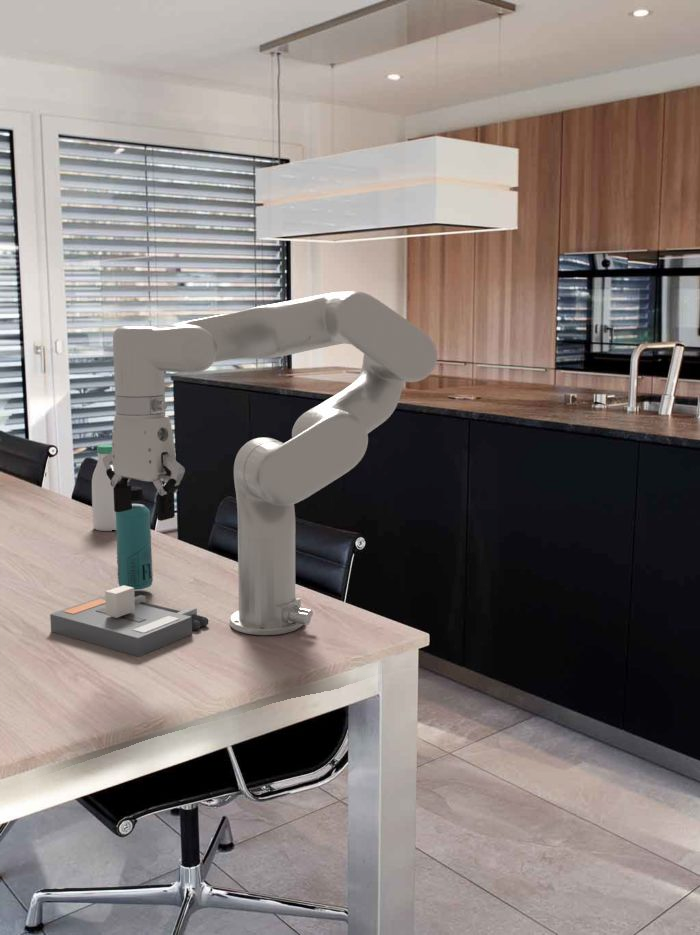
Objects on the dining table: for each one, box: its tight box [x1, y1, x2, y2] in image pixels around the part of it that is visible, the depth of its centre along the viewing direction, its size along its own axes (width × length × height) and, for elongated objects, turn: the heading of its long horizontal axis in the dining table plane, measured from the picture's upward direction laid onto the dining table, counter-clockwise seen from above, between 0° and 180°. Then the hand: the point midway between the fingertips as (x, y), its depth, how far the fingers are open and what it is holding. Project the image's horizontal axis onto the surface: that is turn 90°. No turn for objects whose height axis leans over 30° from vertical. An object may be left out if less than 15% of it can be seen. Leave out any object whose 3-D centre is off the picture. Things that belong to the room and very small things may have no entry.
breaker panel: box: [49, 595, 193, 658], centre depth 155 cm, size 20×12×3 cm, turn 57°
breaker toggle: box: [105, 585, 135, 618], centre depth 155 cm, size 2×4×4 cm, turn 147°
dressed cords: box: [134, 594, 209, 631], centre depth 163 cm, size 20×4×2 cm, turn 57°
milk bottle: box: [91, 443, 116, 532], centre depth 225 cm, size 8×8×20 cm
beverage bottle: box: [115, 486, 154, 591], centre depth 175 cm, size 6×7×20 cm
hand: (144, 514), depth 150 cm, fingers open, 9 cm apart
